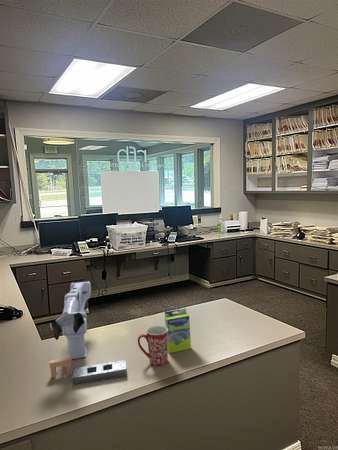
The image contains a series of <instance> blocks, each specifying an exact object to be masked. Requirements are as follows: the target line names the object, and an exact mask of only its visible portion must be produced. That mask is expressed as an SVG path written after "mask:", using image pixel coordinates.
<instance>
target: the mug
mask: <svg viewBox="0 0 338 450" xmlns="http://www.w3.org/2000/svg"><path fill="white" fill-rule="evenodd" d="M145 333H146V334H145ZM145 333H144V334H139V335H138V337H137V345H138V347H139V349H140V351H142V353H143V354H144V355H145V356H146V357H147V358H148V359H149V363H150V364H151V365H152V366H155V367H156V366H157V367H158V366H159V367H160V366H163V365H165V364H167V363H168V361H169V360H168V359H169V358H168V356H169V355H168V354H169V352H168V328H166V326H164V325H154V326H153V325H152V326H150V327H148V328H146V330H145ZM141 338H144V339H145V340H146V342H147V347H148V352H147V351H146V350H145V349H144V347H142V345H141V341H140V340H141Z"/></svg>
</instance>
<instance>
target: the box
mask: <svg viewBox="0 0 338 450" xmlns="http://www.w3.org/2000/svg"><path fill="white" fill-rule="evenodd" d="M176 312H177V313H176ZM164 322H165V323H164V324H165V326H164V327H166V328H168V354H171V353H176V352H180V351H181V352H182V351H186V350H189V349H191V350H192V344H191V343H192V341H191V325H190V324H191V323H190V314H188V313H187V308H185V307H184V308H180V309H179V308H178V309H175V310H169V311H168V310H167V311H164Z"/></svg>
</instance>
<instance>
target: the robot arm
mask: <svg viewBox="0 0 338 450" xmlns="http://www.w3.org/2000/svg"><path fill="white" fill-rule="evenodd" d="M69 286H70V287H69V289H70V290H69V292H68V293H66V294H65V295H64V301H63V305H64V306H63V311H62V313H61V316H60V317H59V318H56V319H55V320H53V321H51V322H50V324H49V327H50V329H51V330H52V331H53V338H54V339H55V340H56V341H58V340H59V338H60V335H61V333H62V335H63V336H64V337H65V338H66V340H67V347H68V348H67V349H68V355H67V358H68V357H71V360H76V359H82V357H83V358H86V357H87V355H88V346H86V342H85V341H86V340H85V339H86V338H85V334H87V331H88V322H87V312H86V311H85V306H86V303H87V300H89V299H90V298H91V293H92V285H91V282H90V281H89V280H88V281H82V282H81V281H80V282H71V284H70V285H69Z"/></svg>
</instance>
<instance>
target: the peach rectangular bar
mask: <svg viewBox="0 0 338 450" xmlns="http://www.w3.org/2000/svg"><path fill="white" fill-rule="evenodd" d="M72 361H73V359H71V357H68V356H67V357H63V358H56V359H50V360H49V363H48V364H49V369H50V377H51V378H52V377H53V378H56V377H57V368H60V367H66V374H67V376H70V375H69V374H71V375H73V367H72V363H73V362H72Z"/></svg>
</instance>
